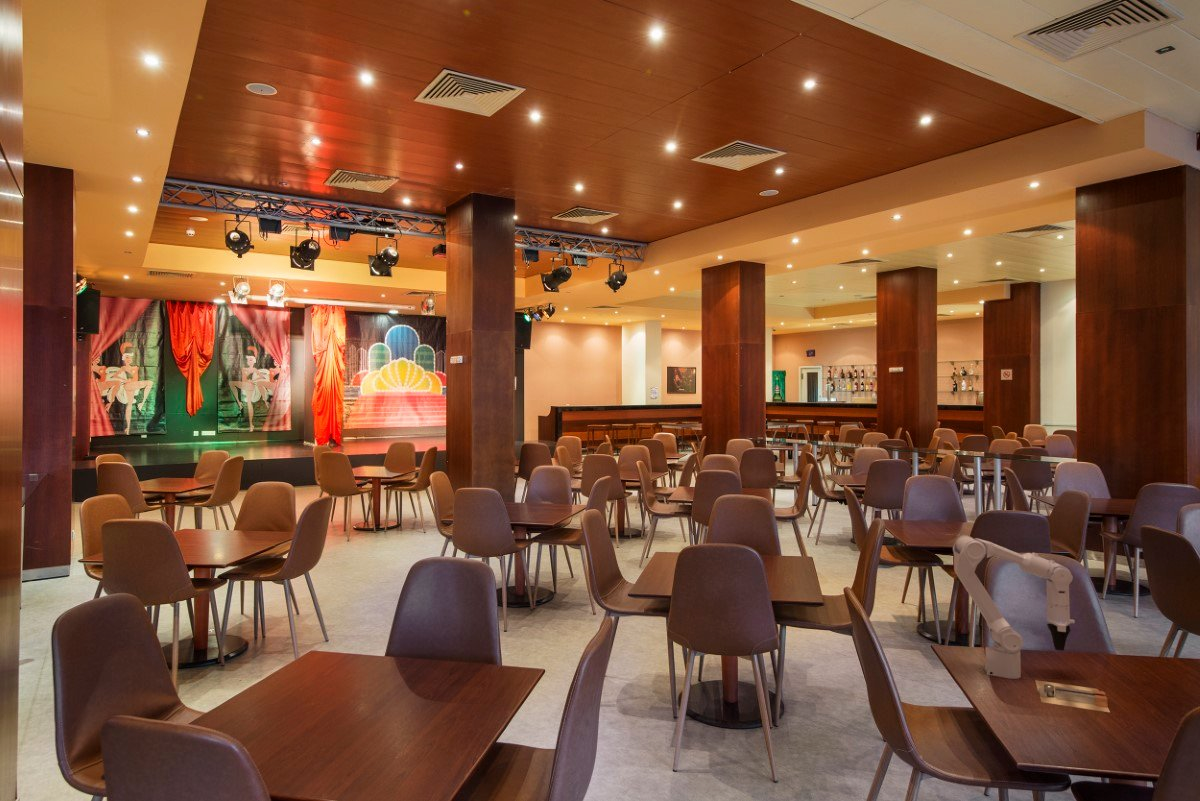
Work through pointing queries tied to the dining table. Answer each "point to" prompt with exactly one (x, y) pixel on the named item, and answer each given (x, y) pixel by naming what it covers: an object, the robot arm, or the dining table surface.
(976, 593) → the robot arm
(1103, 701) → the tongs fixed
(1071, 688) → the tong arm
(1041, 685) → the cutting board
